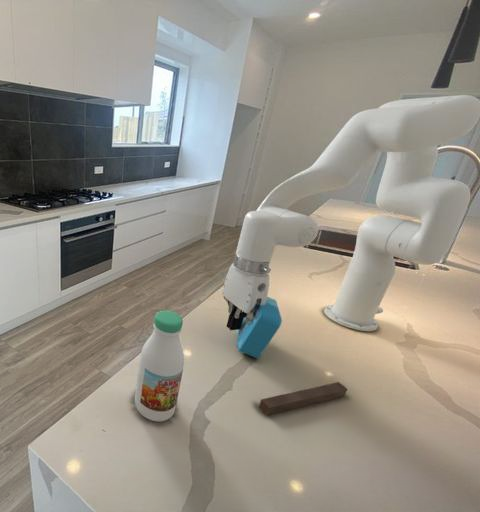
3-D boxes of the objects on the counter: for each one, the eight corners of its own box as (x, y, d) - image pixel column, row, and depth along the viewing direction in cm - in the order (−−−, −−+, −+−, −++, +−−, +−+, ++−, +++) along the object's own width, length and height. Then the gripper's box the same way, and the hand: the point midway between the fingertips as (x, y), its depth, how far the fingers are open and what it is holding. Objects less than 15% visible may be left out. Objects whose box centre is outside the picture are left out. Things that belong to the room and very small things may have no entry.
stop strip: (335, 388, 63) (338, 381, 63) (344, 396, 62) (348, 389, 61) (258, 406, 58) (261, 399, 57) (266, 415, 56) (269, 407, 56)
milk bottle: (125, 404, 57) (136, 315, 50) (149, 383, 62) (162, 300, 55) (159, 431, 52) (176, 337, 45) (182, 406, 57) (201, 318, 50)
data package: (236, 326, 82) (257, 290, 76) (253, 333, 80) (275, 297, 75) (237, 352, 71) (261, 313, 66) (256, 361, 70) (283, 322, 65)
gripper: (289, 276, 65) (267, 344, 72) (242, 251, 78) (226, 311, 85) (261, 278, 63) (241, 348, 70) (217, 252, 76) (204, 313, 83)
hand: (233, 327), depth 78 cm, fingers closed
